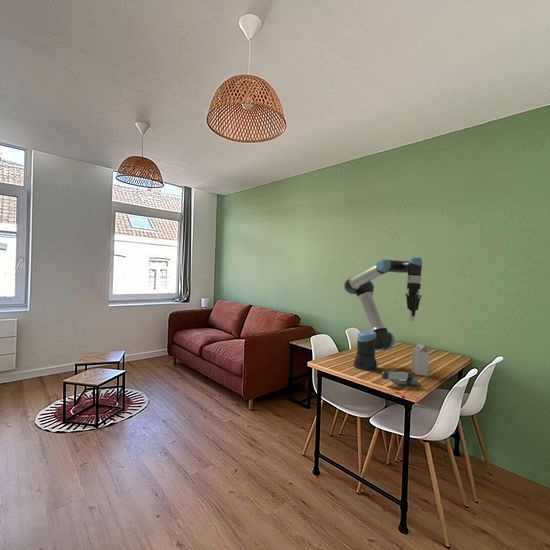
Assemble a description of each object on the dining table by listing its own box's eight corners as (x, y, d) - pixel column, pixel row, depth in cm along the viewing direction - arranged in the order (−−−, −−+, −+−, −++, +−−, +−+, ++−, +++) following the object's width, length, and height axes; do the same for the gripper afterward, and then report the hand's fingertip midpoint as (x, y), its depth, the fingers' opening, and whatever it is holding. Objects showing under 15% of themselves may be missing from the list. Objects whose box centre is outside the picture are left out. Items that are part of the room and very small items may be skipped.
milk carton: (422, 372, 190) (424, 343, 189) (427, 376, 182) (429, 345, 182) (411, 371, 190) (413, 342, 189) (416, 375, 183) (418, 345, 182)
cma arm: (383, 379, 161) (384, 373, 161) (380, 376, 165) (380, 371, 165) (414, 379, 163) (414, 374, 163) (410, 377, 167) (410, 371, 167)
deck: (383, 375, 179) (384, 369, 179) (405, 375, 181) (405, 370, 181) (397, 386, 163) (398, 379, 163) (421, 386, 165) (421, 379, 165)
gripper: (402, 281, 184) (400, 319, 184) (414, 282, 171) (412, 322, 171) (413, 282, 185) (411, 319, 185) (426, 283, 172) (424, 323, 172)
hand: (411, 321), depth 178 cm, fingers closed
